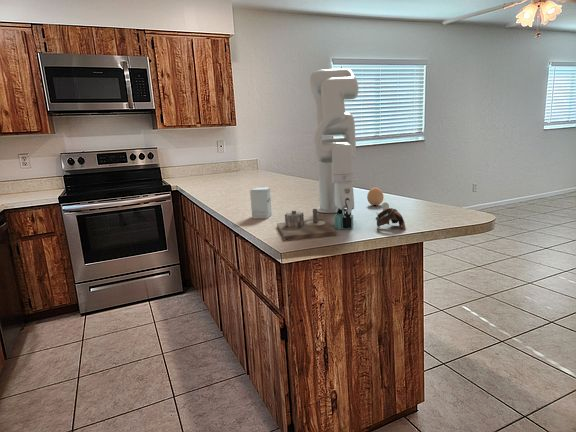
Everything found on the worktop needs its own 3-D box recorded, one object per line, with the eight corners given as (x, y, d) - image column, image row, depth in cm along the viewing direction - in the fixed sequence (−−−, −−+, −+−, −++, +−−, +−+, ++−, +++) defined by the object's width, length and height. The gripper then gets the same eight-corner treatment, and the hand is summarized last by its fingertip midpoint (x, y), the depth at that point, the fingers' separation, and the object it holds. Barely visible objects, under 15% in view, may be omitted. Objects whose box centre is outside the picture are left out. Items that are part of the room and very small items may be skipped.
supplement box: (268, 218, 169) (266, 189, 167) (251, 218, 171) (249, 189, 168) (272, 214, 176) (270, 186, 174) (256, 214, 178) (254, 187, 175)
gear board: (322, 222, 156) (321, 205, 155) (335, 235, 137) (335, 215, 135) (277, 226, 154) (276, 209, 152) (284, 240, 135) (283, 220, 133)
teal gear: (350, 224, 151) (349, 212, 150) (355, 228, 145) (355, 216, 144) (332, 225, 150) (332, 214, 149) (337, 230, 144) (337, 218, 143)
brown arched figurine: (406, 233, 137) (394, 214, 135) (382, 242, 142) (370, 224, 140) (409, 217, 146) (398, 199, 145) (387, 226, 152) (376, 209, 150)
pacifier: (396, 220, 155) (393, 216, 161) (396, 204, 153) (393, 201, 159) (377, 220, 155) (375, 216, 161) (377, 205, 154) (375, 201, 160)
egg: (386, 204, 183) (386, 186, 181) (378, 207, 178) (378, 189, 176) (372, 203, 188) (372, 185, 186) (364, 206, 182) (364, 188, 181)
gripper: (360, 180, 136) (361, 230, 139) (345, 174, 152) (346, 219, 156) (339, 181, 135) (340, 232, 138) (326, 176, 151) (328, 221, 155)
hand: (344, 225), depth 147 cm, fingers closed on teal gear, 6 cm apart
